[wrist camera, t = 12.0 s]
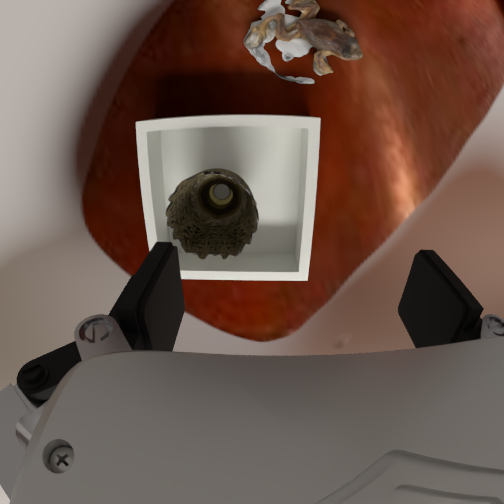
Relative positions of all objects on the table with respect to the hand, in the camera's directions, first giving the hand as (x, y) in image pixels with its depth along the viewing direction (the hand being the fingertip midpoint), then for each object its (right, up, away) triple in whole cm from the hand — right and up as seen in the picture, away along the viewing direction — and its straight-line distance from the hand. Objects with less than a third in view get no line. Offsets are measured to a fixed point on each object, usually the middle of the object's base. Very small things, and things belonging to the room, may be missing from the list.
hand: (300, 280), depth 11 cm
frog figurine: (+4, +23, +13) cm, 27 cm away
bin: (-4, +8, +20) cm, 22 cm away
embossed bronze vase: (-5, +7, +19) cm, 21 cm away
